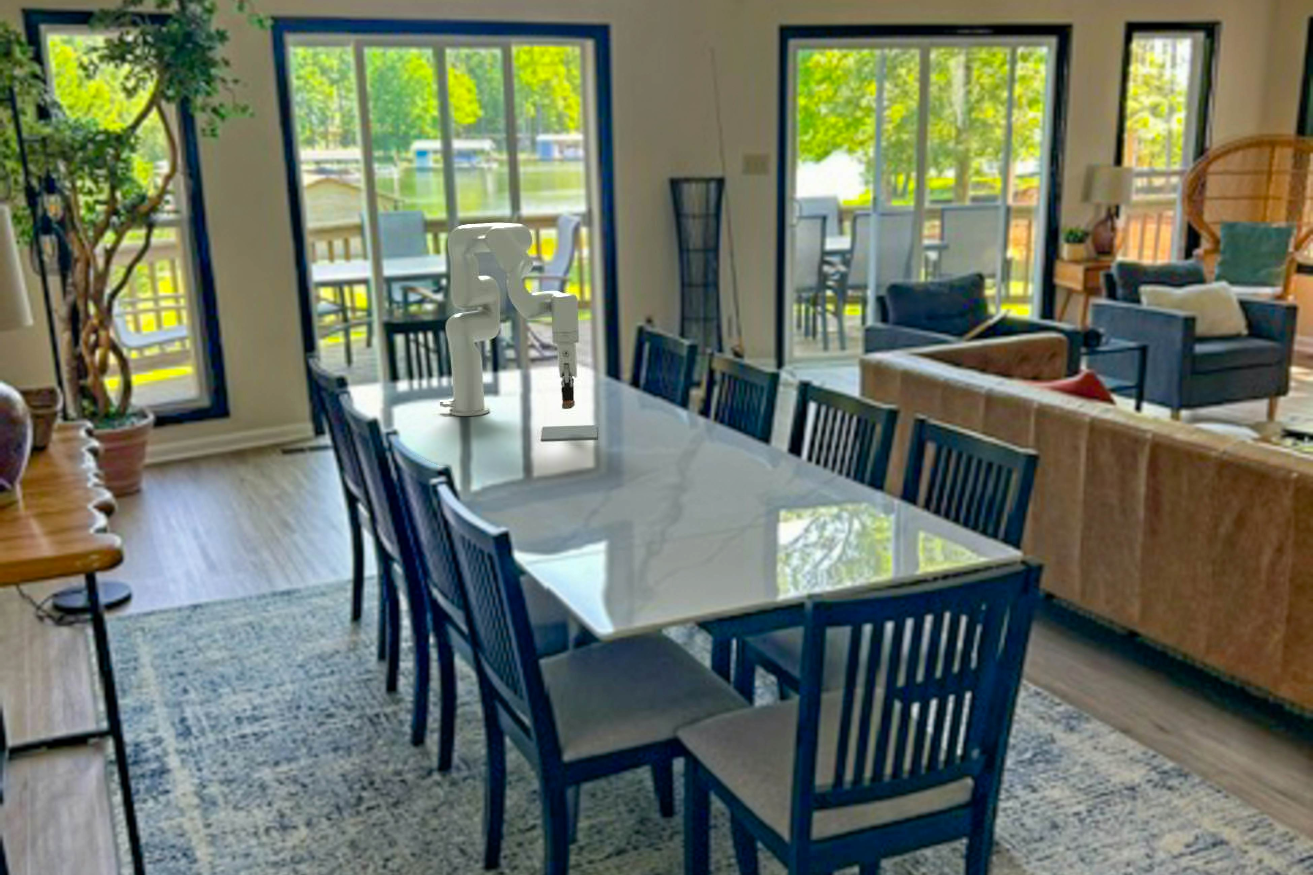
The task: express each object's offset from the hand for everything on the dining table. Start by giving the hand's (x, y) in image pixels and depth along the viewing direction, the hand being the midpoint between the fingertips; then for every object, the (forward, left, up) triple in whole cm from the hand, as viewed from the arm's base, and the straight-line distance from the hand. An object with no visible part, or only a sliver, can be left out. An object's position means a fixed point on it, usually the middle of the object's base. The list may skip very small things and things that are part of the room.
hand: (568, 397), depth 326 cm
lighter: (0, 0, -3) cm, 3 cm away
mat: (0, 0, -11) cm, 11 cm away
